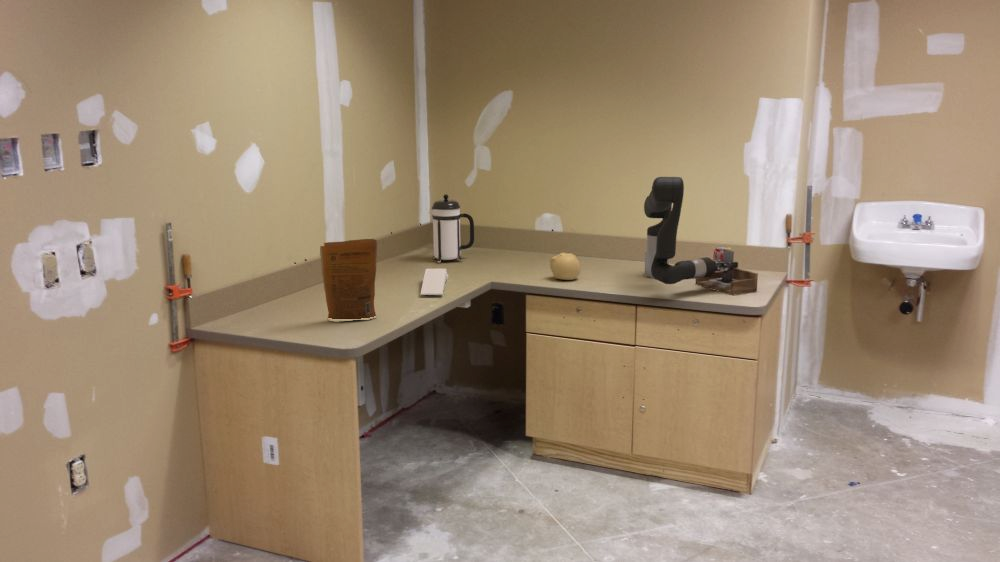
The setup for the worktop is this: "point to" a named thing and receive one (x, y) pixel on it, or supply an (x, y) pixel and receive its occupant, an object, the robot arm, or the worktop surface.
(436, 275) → the white boxy piece
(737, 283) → the bay
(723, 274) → the tall grey cylinder
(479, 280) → the worktop surface
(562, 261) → the tan round lump
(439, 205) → the coffee press
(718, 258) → the soda can
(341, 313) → the pancake mix bag
